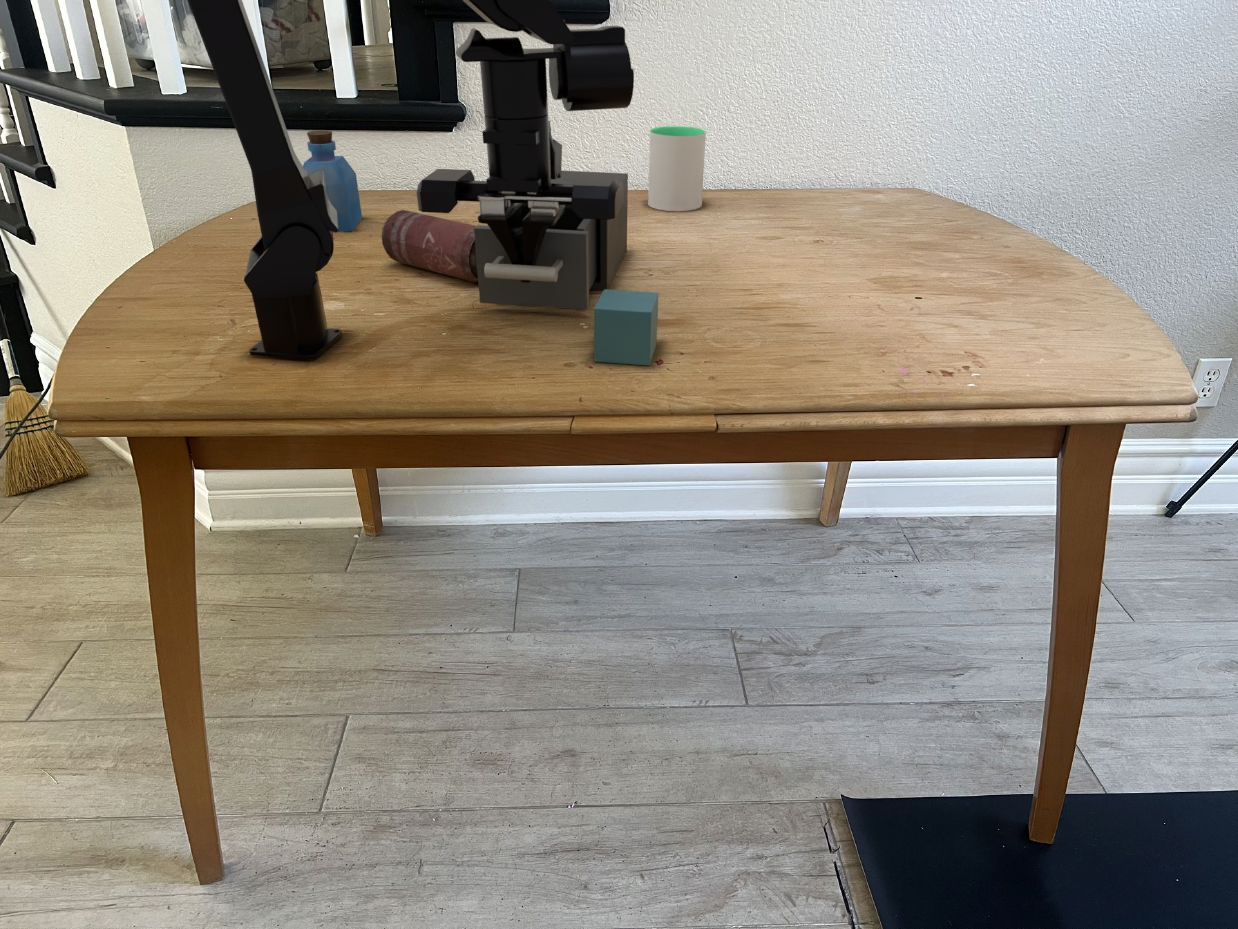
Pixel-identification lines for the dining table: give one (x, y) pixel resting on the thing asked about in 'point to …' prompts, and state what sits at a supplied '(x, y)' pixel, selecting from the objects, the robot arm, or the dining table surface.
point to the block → (625, 327)
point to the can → (431, 244)
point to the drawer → (542, 266)
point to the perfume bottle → (335, 178)
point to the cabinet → (604, 231)
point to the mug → (676, 168)
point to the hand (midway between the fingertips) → (526, 281)
